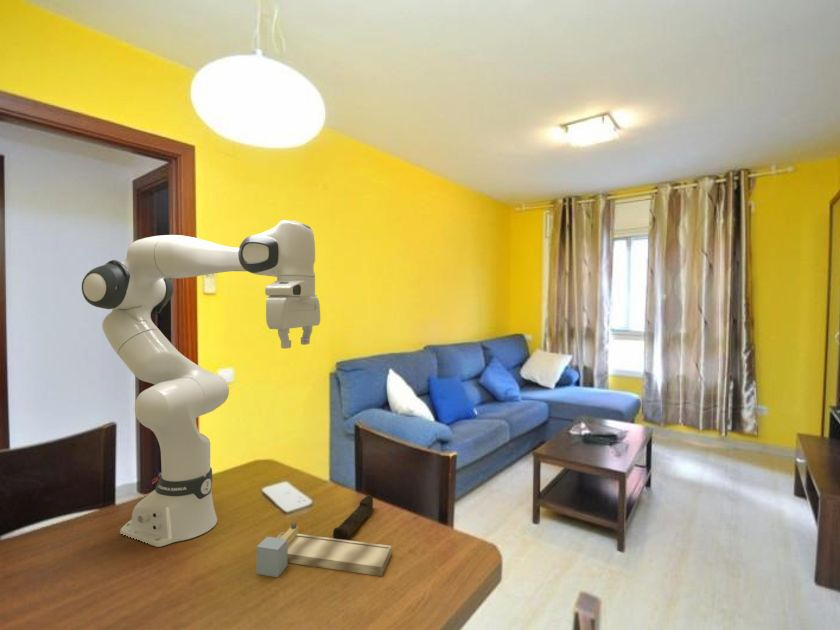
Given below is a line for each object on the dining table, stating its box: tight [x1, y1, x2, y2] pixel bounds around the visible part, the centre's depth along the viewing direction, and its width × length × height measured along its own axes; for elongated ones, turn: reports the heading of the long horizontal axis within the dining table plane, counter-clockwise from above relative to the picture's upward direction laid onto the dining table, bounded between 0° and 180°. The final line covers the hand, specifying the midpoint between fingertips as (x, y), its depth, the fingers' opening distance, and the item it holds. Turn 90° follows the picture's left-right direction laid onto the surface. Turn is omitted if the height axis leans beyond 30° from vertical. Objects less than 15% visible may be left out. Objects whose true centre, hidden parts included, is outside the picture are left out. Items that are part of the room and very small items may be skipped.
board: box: [275, 531, 393, 577], centre depth 97 cm, size 28×8×2 cm, turn 79°
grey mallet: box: [256, 521, 299, 578], centre depth 96 cm, size 5×12×6 cm, turn 168°
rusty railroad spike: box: [332, 495, 374, 541], centre depth 111 cm, size 19×4×5 cm, turn 159°
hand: (296, 346), depth 101 cm, fingers open, 8 cm apart
